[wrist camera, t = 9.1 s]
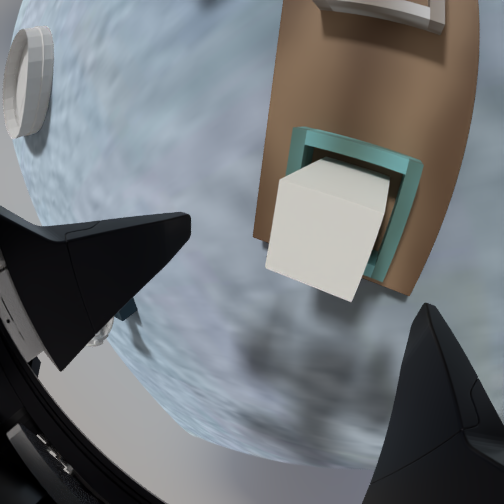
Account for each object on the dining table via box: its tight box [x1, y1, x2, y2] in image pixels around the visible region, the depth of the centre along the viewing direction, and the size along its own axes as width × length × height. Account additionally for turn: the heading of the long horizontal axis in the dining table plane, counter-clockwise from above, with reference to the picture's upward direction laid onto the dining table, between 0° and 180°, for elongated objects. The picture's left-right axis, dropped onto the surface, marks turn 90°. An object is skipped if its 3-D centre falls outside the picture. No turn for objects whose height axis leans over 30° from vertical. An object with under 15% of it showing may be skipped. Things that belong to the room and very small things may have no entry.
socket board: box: [253, 0, 479, 296], centre depth 12 cm, size 12×25×4 cm, turn 173°
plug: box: [265, 157, 390, 302], centre depth 13 cm, size 4×4×7 cm
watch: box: [86, 298, 137, 347], centre depth 35 cm, size 6×8×11 cm
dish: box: [3, 26, 54, 139], centre depth 29 cm, size 22×22×5 cm
